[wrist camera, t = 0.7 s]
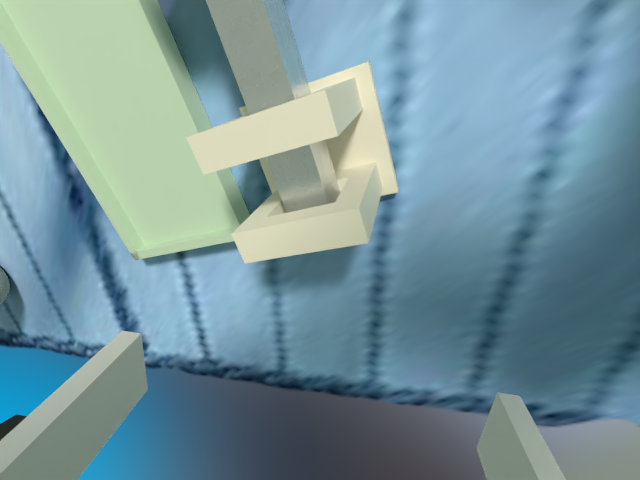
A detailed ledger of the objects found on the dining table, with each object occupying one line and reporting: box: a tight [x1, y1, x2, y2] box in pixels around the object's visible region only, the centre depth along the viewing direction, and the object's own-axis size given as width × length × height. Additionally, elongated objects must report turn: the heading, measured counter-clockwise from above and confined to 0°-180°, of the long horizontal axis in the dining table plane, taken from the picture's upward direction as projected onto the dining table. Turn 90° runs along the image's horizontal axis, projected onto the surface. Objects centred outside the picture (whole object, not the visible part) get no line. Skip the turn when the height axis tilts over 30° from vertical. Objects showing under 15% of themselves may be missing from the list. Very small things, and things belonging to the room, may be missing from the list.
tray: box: [0, 0, 250, 260], centre depth 33 cm, size 16×31×2 cm, turn 18°
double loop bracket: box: [186, 61, 399, 263], centre depth 27 cm, size 11×12×12 cm
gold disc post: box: [206, 0, 341, 213], centre depth 23 cm, size 28×12×12 cm, turn 18°
